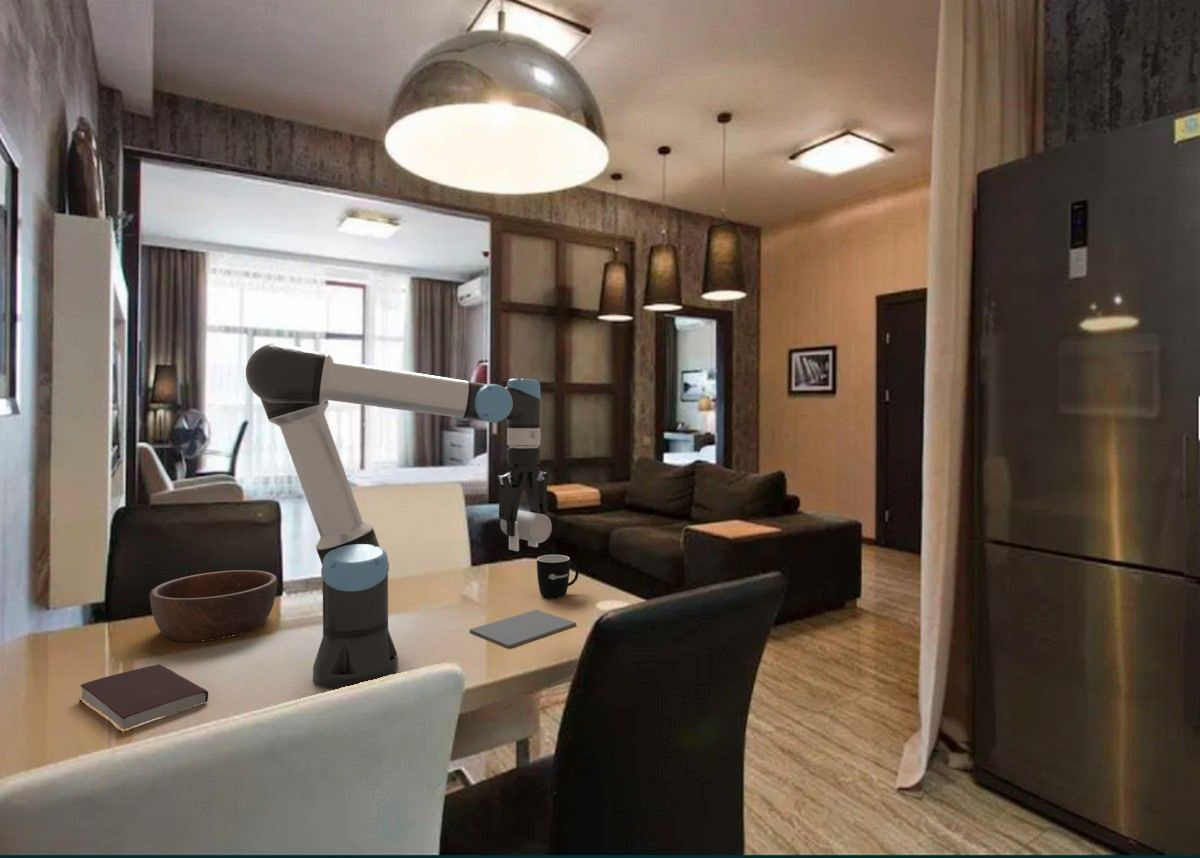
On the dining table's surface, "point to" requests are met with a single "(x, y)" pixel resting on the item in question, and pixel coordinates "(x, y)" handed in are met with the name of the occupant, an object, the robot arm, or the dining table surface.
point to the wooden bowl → (213, 604)
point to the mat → (522, 628)
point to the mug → (554, 575)
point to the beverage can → (531, 526)
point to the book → (142, 695)
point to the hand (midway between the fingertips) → (523, 547)
